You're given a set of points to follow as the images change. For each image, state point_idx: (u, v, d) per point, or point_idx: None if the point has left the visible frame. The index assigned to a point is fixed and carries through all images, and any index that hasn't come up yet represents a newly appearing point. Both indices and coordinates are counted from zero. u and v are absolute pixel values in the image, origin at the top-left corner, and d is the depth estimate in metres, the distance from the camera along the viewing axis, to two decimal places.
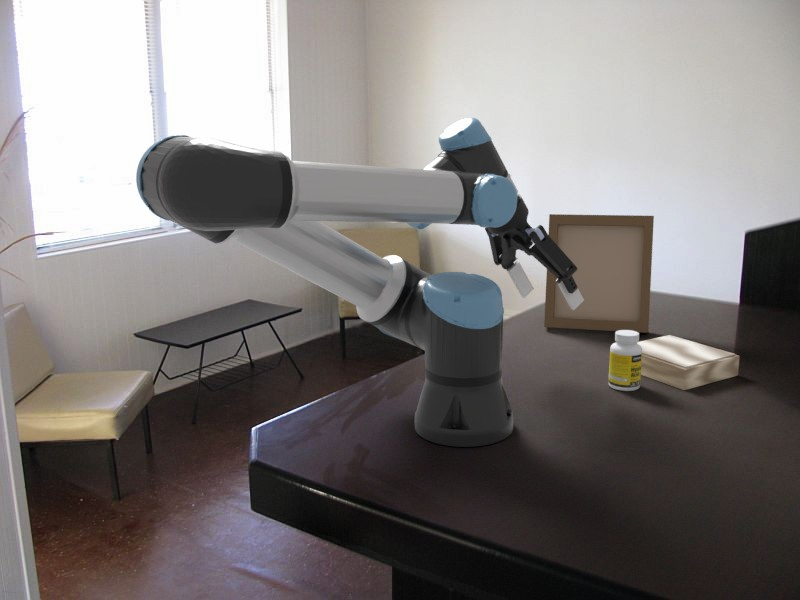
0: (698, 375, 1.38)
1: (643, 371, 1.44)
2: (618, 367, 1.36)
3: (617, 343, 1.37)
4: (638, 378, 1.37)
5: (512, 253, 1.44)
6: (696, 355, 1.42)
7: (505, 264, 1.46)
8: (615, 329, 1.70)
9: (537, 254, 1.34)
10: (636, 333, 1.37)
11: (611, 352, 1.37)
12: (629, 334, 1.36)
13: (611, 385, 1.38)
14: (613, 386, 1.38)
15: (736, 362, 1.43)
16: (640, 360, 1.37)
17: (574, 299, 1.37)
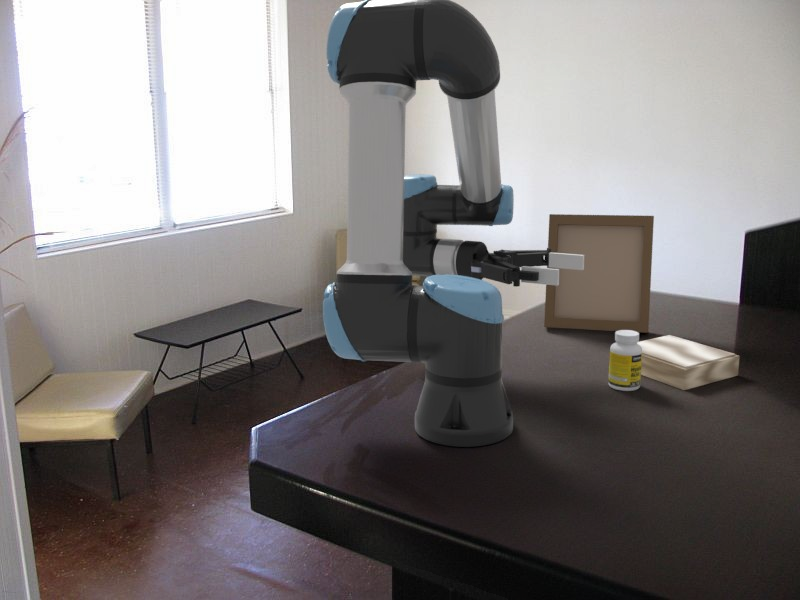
0: (698, 375, 1.38)
1: (643, 371, 1.44)
2: (618, 367, 1.36)
3: (617, 343, 1.37)
4: (638, 378, 1.37)
5: None
6: (696, 355, 1.42)
7: (515, 266, 1.38)
8: (615, 329, 1.70)
9: (519, 254, 1.49)
10: (636, 333, 1.37)
11: (611, 352, 1.37)
12: (629, 334, 1.36)
13: (611, 385, 1.38)
14: (613, 386, 1.38)
15: (736, 362, 1.43)
16: (640, 360, 1.37)
17: None
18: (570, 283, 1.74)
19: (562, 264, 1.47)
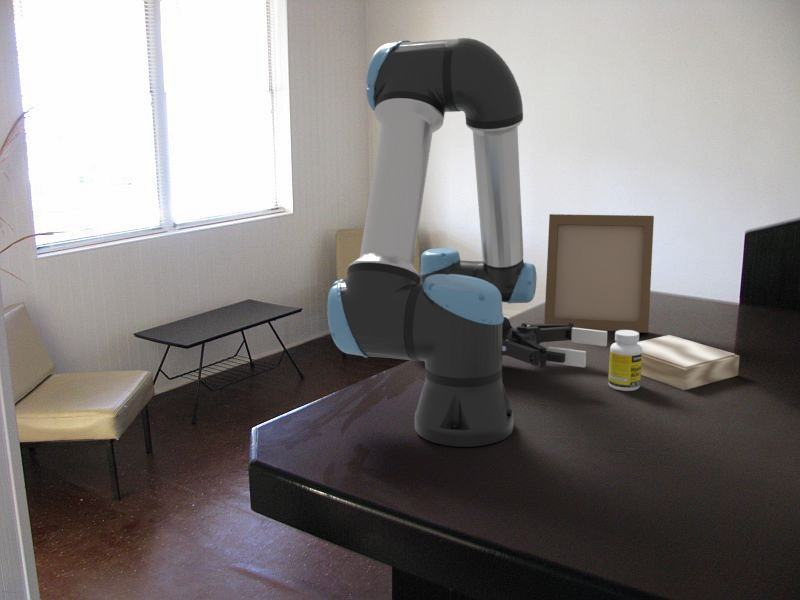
0: (698, 375, 1.38)
1: (643, 371, 1.44)
2: (618, 367, 1.36)
3: (617, 343, 1.37)
4: (638, 378, 1.37)
5: None
6: (696, 355, 1.42)
7: (541, 346, 1.39)
8: (615, 329, 1.70)
9: (542, 329, 1.51)
10: (636, 333, 1.37)
11: (611, 352, 1.37)
12: (629, 334, 1.36)
13: (611, 385, 1.38)
14: (613, 386, 1.38)
15: (736, 362, 1.43)
16: (640, 360, 1.37)
17: None
18: (570, 283, 1.74)
19: (585, 340, 1.49)
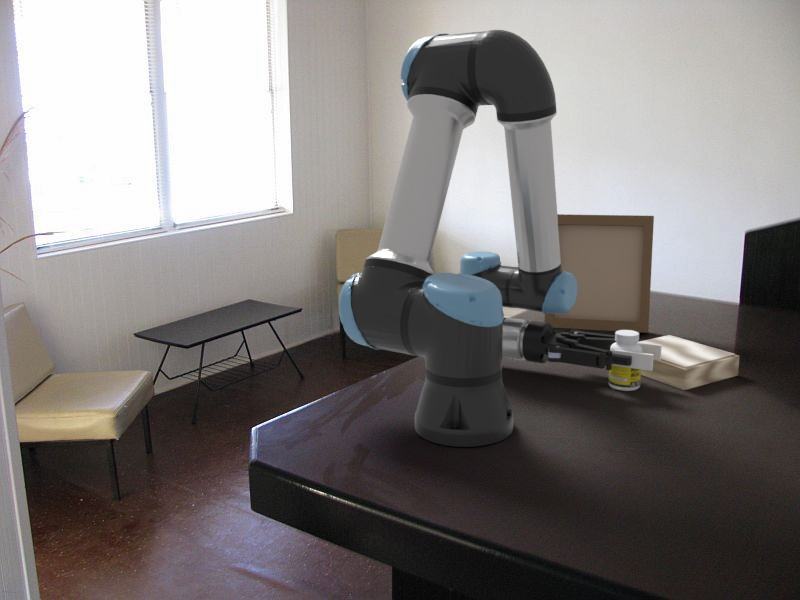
0: (698, 375, 1.38)
1: (643, 371, 1.44)
2: (618, 367, 1.36)
3: (617, 343, 1.37)
4: (638, 378, 1.37)
5: None
6: (696, 355, 1.42)
7: (603, 349, 1.36)
8: (615, 329, 1.70)
9: (590, 338, 1.44)
10: (636, 333, 1.37)
11: None
12: (629, 334, 1.36)
13: (611, 385, 1.38)
14: (613, 386, 1.38)
15: (736, 362, 1.43)
16: None
17: None
18: None
19: None
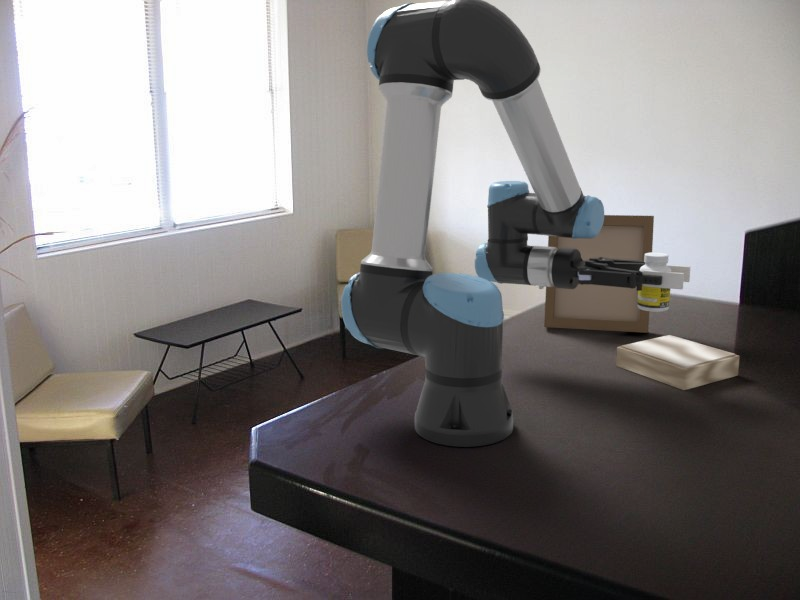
0: (698, 375, 1.38)
1: (643, 371, 1.44)
2: (648, 288, 1.38)
3: (646, 264, 1.39)
4: (667, 299, 1.39)
5: None
6: (696, 355, 1.42)
7: (633, 270, 1.38)
8: (615, 329, 1.70)
9: None
10: (665, 254, 1.38)
11: None
12: (659, 255, 1.38)
13: (640, 307, 1.40)
14: (643, 307, 1.40)
15: (736, 362, 1.43)
16: None
17: None
18: None
19: None
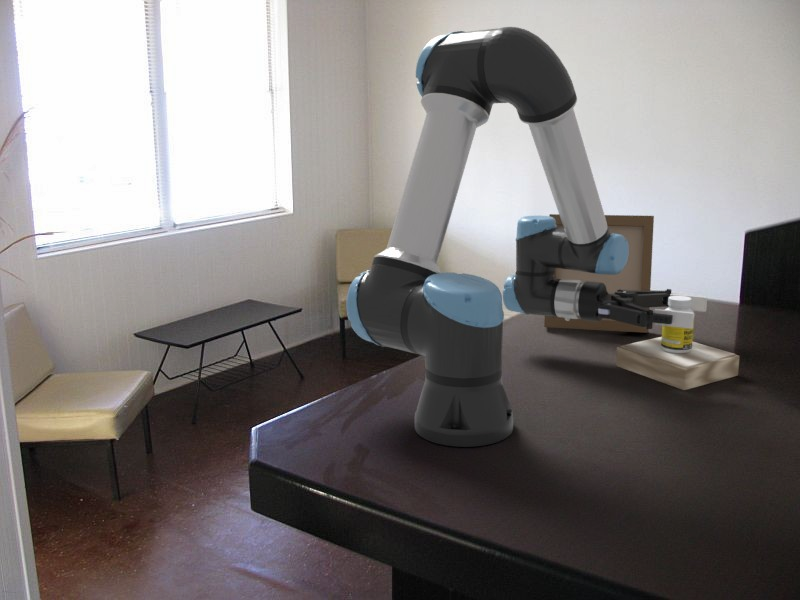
0: (698, 375, 1.38)
1: (643, 371, 1.44)
2: (671, 331, 1.43)
3: (670, 308, 1.44)
4: (690, 341, 1.44)
5: None
6: (696, 355, 1.42)
7: (646, 309, 1.41)
8: (615, 329, 1.70)
9: (640, 295, 1.52)
10: (689, 298, 1.43)
11: None
12: (682, 299, 1.43)
13: (664, 348, 1.45)
14: (666, 349, 1.44)
15: (736, 362, 1.43)
16: None
17: None
18: None
19: None
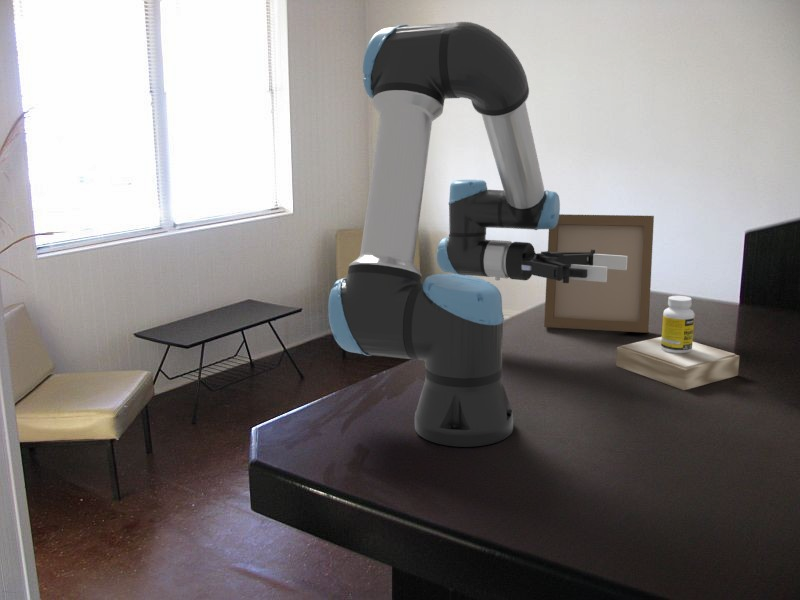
0: (698, 375, 1.38)
1: (643, 371, 1.44)
2: (671, 331, 1.43)
3: (670, 308, 1.44)
4: (690, 341, 1.44)
5: None
6: (696, 355, 1.42)
7: (564, 264, 1.47)
8: (615, 329, 1.70)
9: (565, 255, 1.58)
10: (689, 298, 1.43)
11: (665, 316, 1.44)
12: (682, 299, 1.43)
13: (664, 348, 1.45)
14: (666, 349, 1.44)
15: (736, 362, 1.43)
16: (692, 324, 1.43)
17: None
18: (570, 283, 1.74)
19: (606, 265, 1.56)
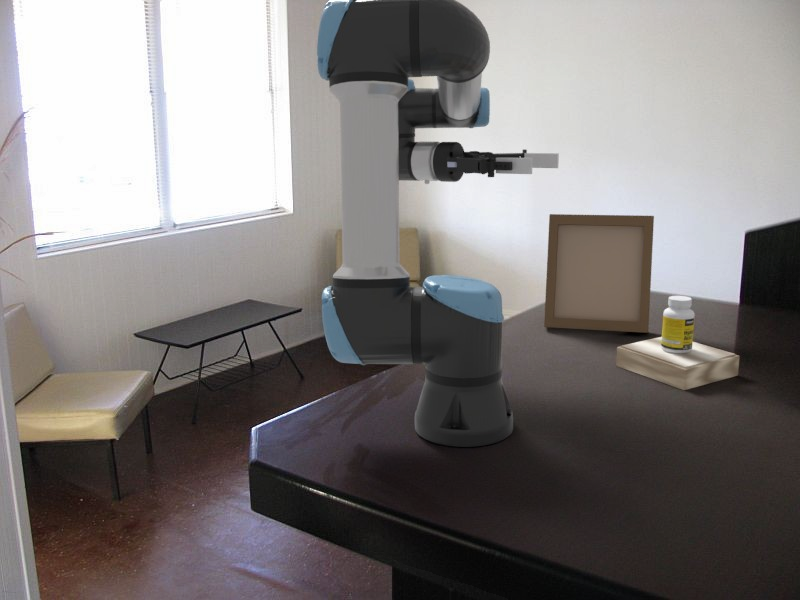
0: (698, 375, 1.38)
1: (643, 371, 1.44)
2: (671, 331, 1.43)
3: (670, 308, 1.44)
4: (690, 341, 1.44)
5: None
6: (696, 355, 1.42)
7: (489, 158, 1.41)
8: (615, 329, 1.70)
9: None
10: (689, 298, 1.43)
11: (665, 316, 1.44)
12: (682, 299, 1.43)
13: (664, 348, 1.45)
14: (666, 349, 1.44)
15: (736, 362, 1.43)
16: (693, 324, 1.43)
17: None
18: (570, 283, 1.74)
19: (537, 164, 1.50)
